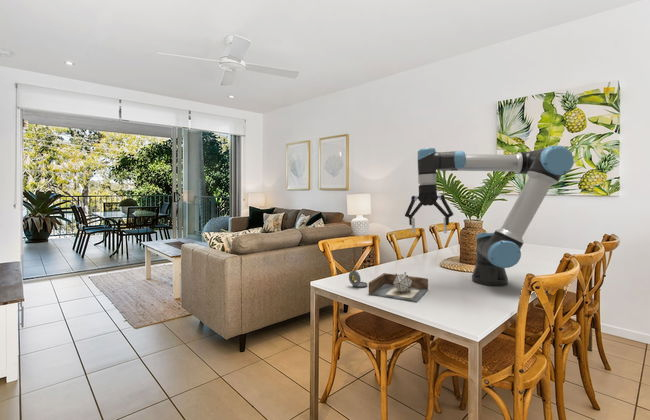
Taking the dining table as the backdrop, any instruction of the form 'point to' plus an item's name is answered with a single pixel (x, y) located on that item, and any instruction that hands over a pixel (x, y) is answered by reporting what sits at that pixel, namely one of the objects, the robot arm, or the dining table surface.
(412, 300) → the tray
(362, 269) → the dining table surface
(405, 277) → the game die
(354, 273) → the pocket watch
